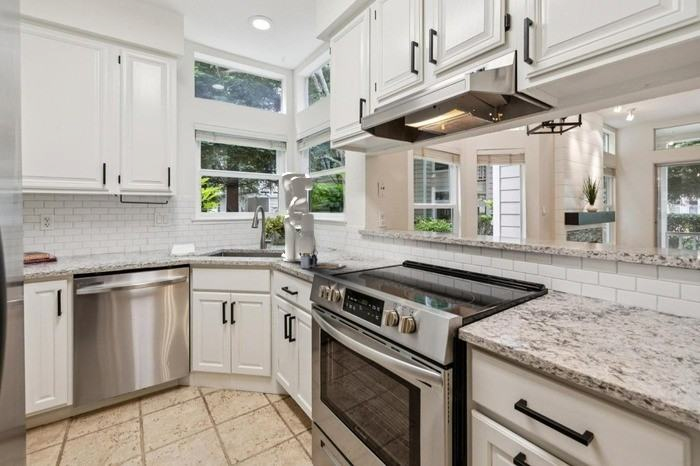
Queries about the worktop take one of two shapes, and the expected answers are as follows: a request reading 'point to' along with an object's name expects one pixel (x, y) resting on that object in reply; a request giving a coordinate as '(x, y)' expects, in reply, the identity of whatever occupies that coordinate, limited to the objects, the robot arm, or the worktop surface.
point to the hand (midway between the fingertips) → (307, 264)
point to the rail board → (331, 266)
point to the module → (306, 261)
